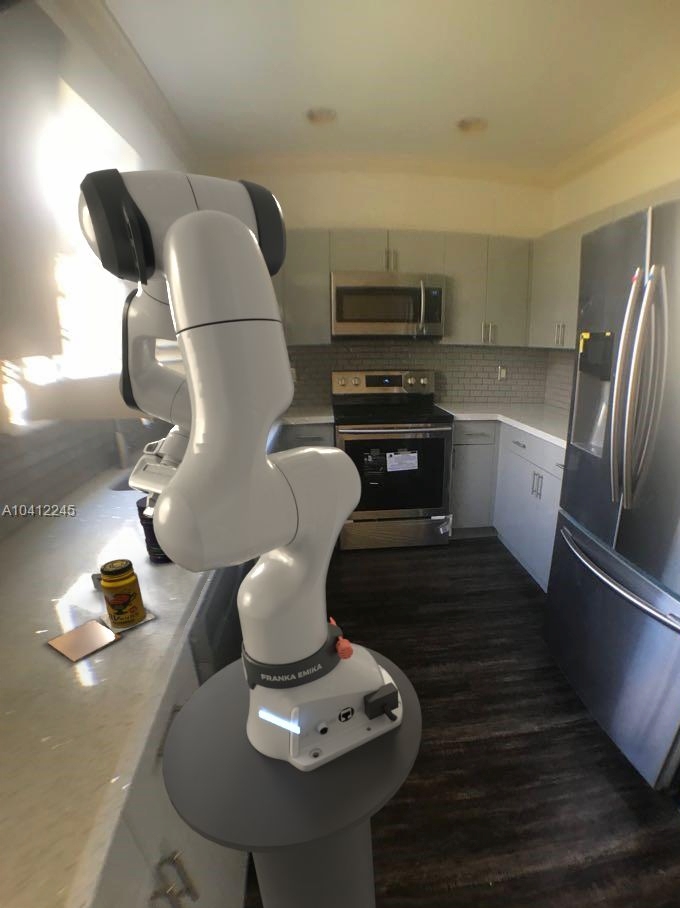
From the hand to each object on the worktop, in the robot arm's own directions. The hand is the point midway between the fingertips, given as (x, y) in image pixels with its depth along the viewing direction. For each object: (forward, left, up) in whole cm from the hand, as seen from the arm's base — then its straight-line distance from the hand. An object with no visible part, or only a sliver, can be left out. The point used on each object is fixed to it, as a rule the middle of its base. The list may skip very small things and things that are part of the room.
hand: (150, 517), depth 90 cm
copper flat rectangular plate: (+14, +10, -18) cm, 25 cm away
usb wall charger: (+13, -12, -18) cm, 26 cm away
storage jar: (+1, -21, -18) cm, 28 cm away
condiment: (+7, +6, -18) cm, 20 cm away
